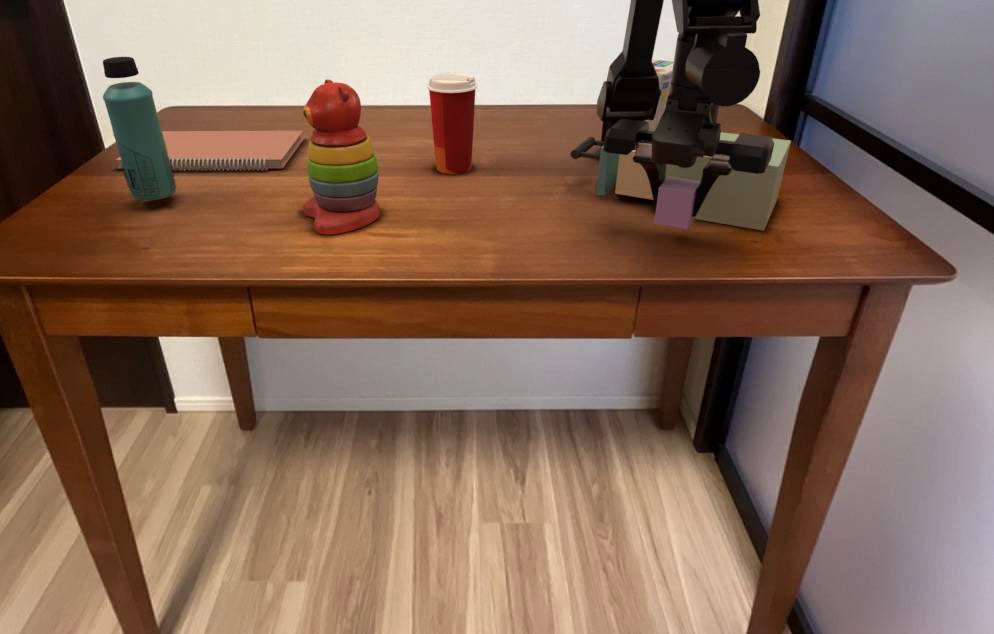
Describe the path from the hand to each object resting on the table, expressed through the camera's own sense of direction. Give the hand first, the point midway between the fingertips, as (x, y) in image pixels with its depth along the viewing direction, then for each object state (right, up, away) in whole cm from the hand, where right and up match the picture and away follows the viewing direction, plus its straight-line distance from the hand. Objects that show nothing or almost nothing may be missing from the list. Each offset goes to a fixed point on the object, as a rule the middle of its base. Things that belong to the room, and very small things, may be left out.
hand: (675, 212), depth 89 cm
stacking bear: (-43, +1, +10) cm, 44 cm away
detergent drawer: (-2, +7, +15) cm, 16 cm away
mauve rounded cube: (0, -1, +1) cm, 1 cm away
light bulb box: (+8, +24, +43) cm, 50 cm away
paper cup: (-28, +12, +26) cm, 40 cm away
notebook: (-69, +16, +33) cm, 78 cm away
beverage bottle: (-71, +4, +15) cm, 73 cm away
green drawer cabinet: (+9, +3, +11) cm, 14 cm away
